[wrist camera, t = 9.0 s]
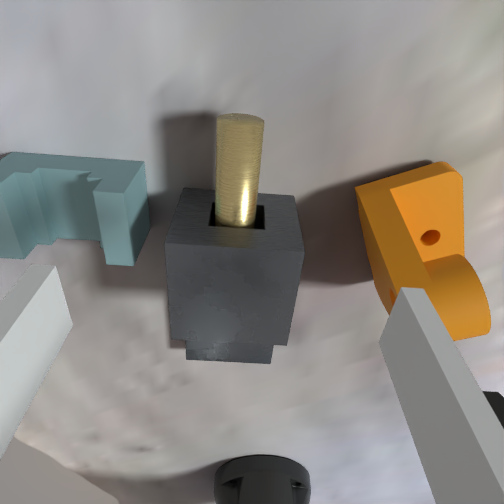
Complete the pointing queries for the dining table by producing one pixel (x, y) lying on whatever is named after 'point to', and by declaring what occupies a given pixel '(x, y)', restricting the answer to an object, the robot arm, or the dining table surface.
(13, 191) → the v block
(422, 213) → the bracket
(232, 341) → the block
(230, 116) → the axle
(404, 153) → the dining table surface
